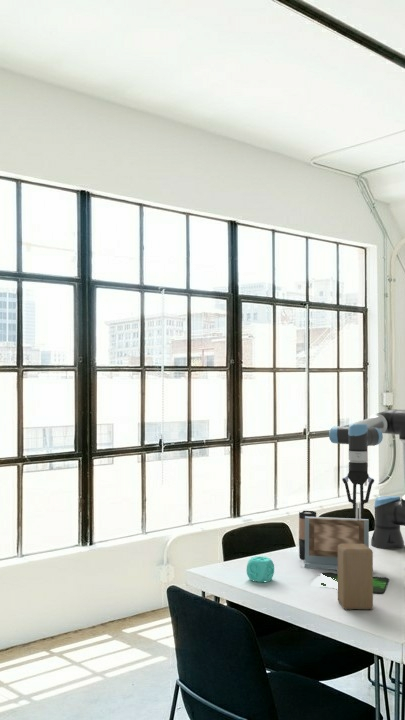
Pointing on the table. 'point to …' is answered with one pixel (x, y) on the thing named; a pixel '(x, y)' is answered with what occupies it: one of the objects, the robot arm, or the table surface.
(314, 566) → the grey board
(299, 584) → the table surface
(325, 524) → the walnut frame
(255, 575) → the decorative dice
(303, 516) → the travel mug
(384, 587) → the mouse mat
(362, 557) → the wooden block
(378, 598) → the table surface
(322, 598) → the table surface
